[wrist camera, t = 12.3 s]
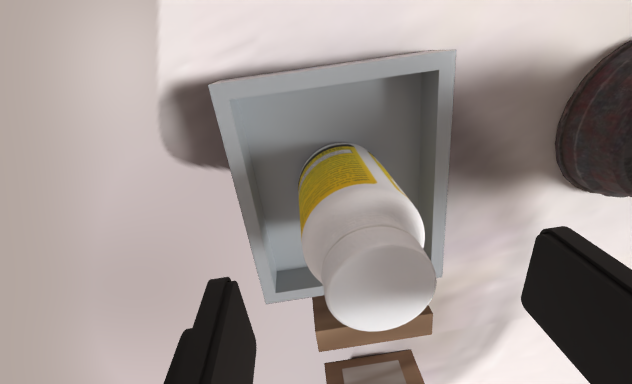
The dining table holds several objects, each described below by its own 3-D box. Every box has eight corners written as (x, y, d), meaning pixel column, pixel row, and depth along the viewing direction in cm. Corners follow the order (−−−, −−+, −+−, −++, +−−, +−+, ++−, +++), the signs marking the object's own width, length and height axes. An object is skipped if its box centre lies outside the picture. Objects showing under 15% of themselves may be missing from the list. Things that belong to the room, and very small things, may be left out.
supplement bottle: (284, 203, 20) (279, 326, 11) (319, 126, 18) (347, 198, 9) (358, 229, 21) (407, 358, 12) (397, 160, 19) (490, 253, 10)
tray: (221, 80, 17) (208, 84, 14) (430, 50, 17) (456, 49, 15) (268, 274, 23) (265, 304, 20) (424, 250, 23) (442, 277, 20)
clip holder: (311, 289, 24) (315, 331, 20) (411, 274, 24) (432, 313, 20) (326, 377, 28) (332, 424, 25) (410, 364, 29) (428, 409, 25)
